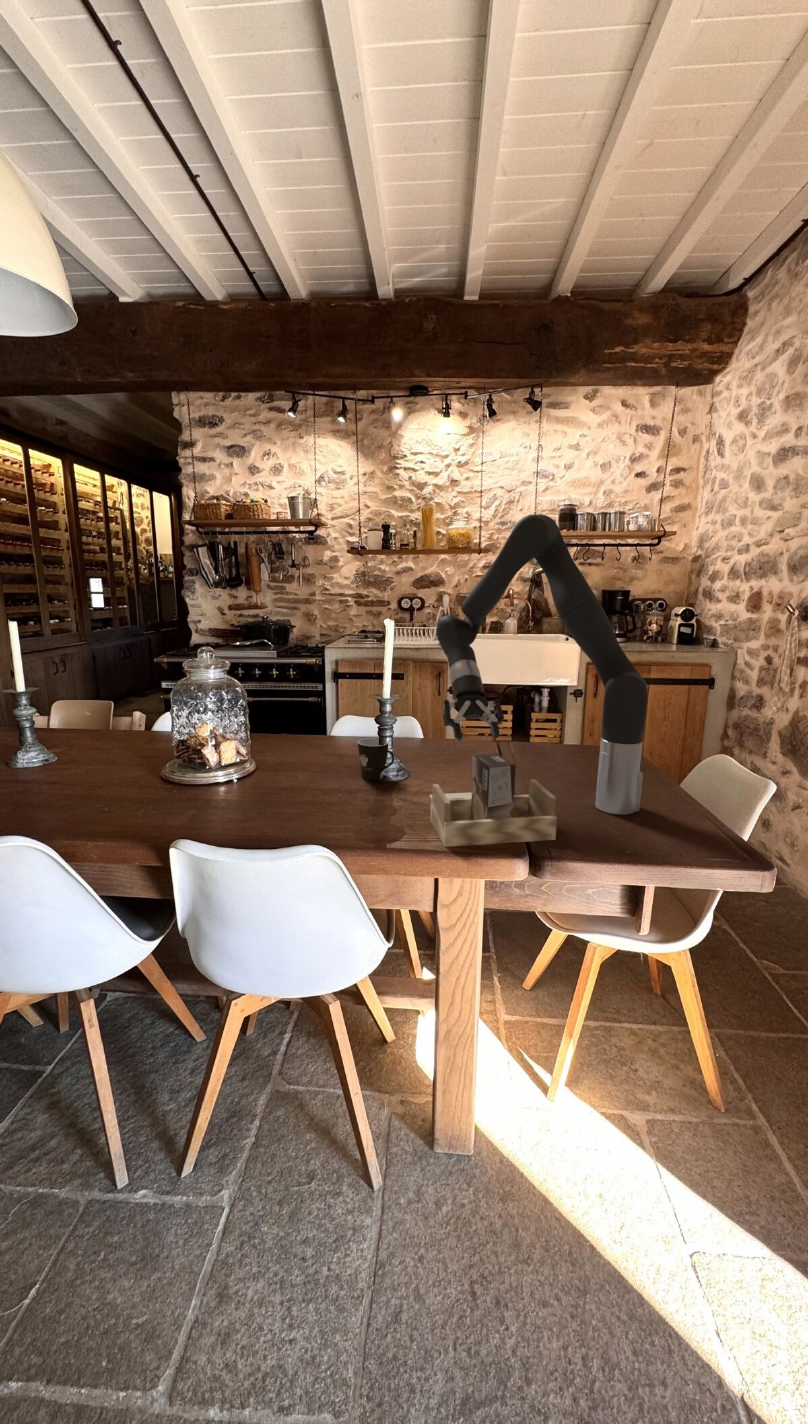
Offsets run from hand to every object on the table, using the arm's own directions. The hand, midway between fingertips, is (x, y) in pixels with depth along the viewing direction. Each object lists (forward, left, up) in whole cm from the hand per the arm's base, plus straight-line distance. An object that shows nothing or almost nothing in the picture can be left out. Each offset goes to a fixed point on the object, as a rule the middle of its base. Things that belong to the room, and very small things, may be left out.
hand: (477, 739), depth 136 cm
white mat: (0, -4, -17) cm, 18 cm away
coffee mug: (+21, -26, -18) cm, 38 cm away
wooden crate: (0, +12, -17) cm, 21 cm away
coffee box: (0, +12, -18) cm, 21 cm away
